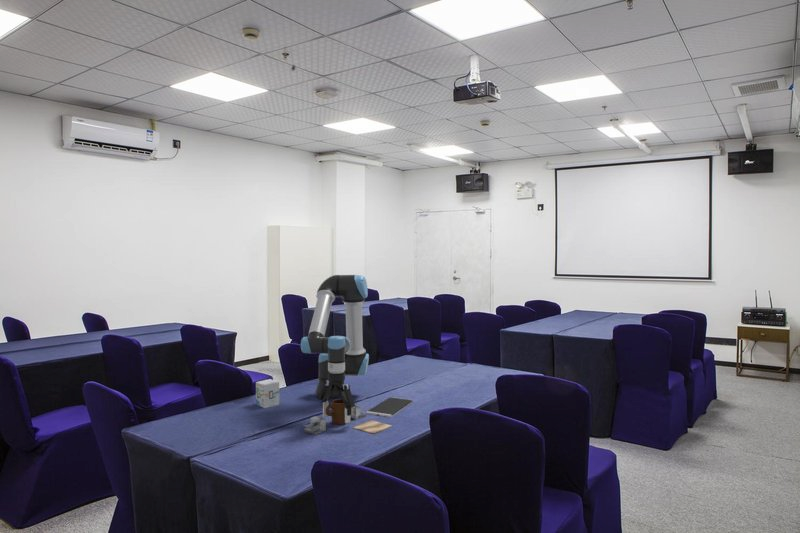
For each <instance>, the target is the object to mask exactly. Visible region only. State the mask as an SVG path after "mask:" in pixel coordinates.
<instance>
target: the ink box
mask: <svg viewBox="0 0 800 533" xmlns="http://www.w3.org/2000/svg"><path fill="white" fill-rule="evenodd" d="M279 405H280V381H278V380H274V379H272V378H271V379H270V378H269V379H264V380H260V381H256V382H255V406H258V407H261V408H263V409H266V408H272V407H275V406H279Z"/></svg>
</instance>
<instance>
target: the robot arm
mask: <svg viewBox="0 0 800 533" xmlns="http://www.w3.org/2000/svg"><path fill="white" fill-rule="evenodd" d="M368 294H369V292H368V283H367V279H366V278H365V276H363V275H360V274H335V275H330V276H329V277H327V278H326V279H325V280H324V281H323V282H322V283H321V284H320V285H319V287H318V289H317V291H316V295H315V296H316V299H317V300H316V303H315V308H314V310H313V315H312V318H311V323H310V326H309V330H308V334H307V336H303V337H302V338H301V340H300V349H301V352H302V353H303V354H319V355H318V361H317V363H318V382H317V385H316V389H315V392H314V395H315V397H317V398H318V401H321V409H322V418H326V417H329V416H328V415H327V414H326V407H327V406H328V405H329V399H335V398H336V399H337V398H340V399H342V400H343V402H344V404H345V406H346V408H345V423H346V424H349V423H351V418H350V415H351V408H352V407H354V406H356V403H355V400H354V396H353V395H352V394H353V393H352V392H351V387H350V384H349V383H348V384H345V380H346V376H348V377H349V376H350V377H363V376H366V374H367V371H368V367H369V359H370V355H369V353H367V351H366V349H365V348H364V346H363V344H364V340H363V306H362V305H363V303H364V302H365V299H367V298H368ZM336 298H341V299H342V301H341V302H343V303H344V304H345V331H346V332H345V335H346V336H342V335H332V336H329V337H328V336H325V334H326V331H327V326H328V322H329V318H330V313H331V308H332V305H333V302H335V300H336Z"/></svg>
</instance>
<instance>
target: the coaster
mask: <svg viewBox="0 0 800 533" xmlns="http://www.w3.org/2000/svg"><path fill="white" fill-rule="evenodd" d="M392 427H393V425H391V424H387V423H383V422H380V421H376V420H373V419H371V420H368V421H365V422H363V423H360V424H358V425H355V426H354V427H353V428H352V429H355V430H358V431H362V432H365V433H368V434H372V435H375V434H378V433H381V432H383V431H385V430H387V429H390V428H392Z"/></svg>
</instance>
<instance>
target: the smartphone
mask: <svg viewBox="0 0 800 533" xmlns="http://www.w3.org/2000/svg"><path fill="white" fill-rule="evenodd" d="M412 403H414V400H413V399H409V398H408V399H407V398H400V397H394V396H393V397H392V396H390V397H388V398H386V399H385V400H382V402H380V403H378V404H376V405H375V406H373V407H372V408H370V409H368V410H367V411H365V414H366V415H371V416H379V417H384V418H385V417H386V418H393V417H394V416H395V415H397V414H398V413H400V412H401V411H402V410H404V409H405V408H407V407H408V406H410V405H411V404H412Z"/></svg>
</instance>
